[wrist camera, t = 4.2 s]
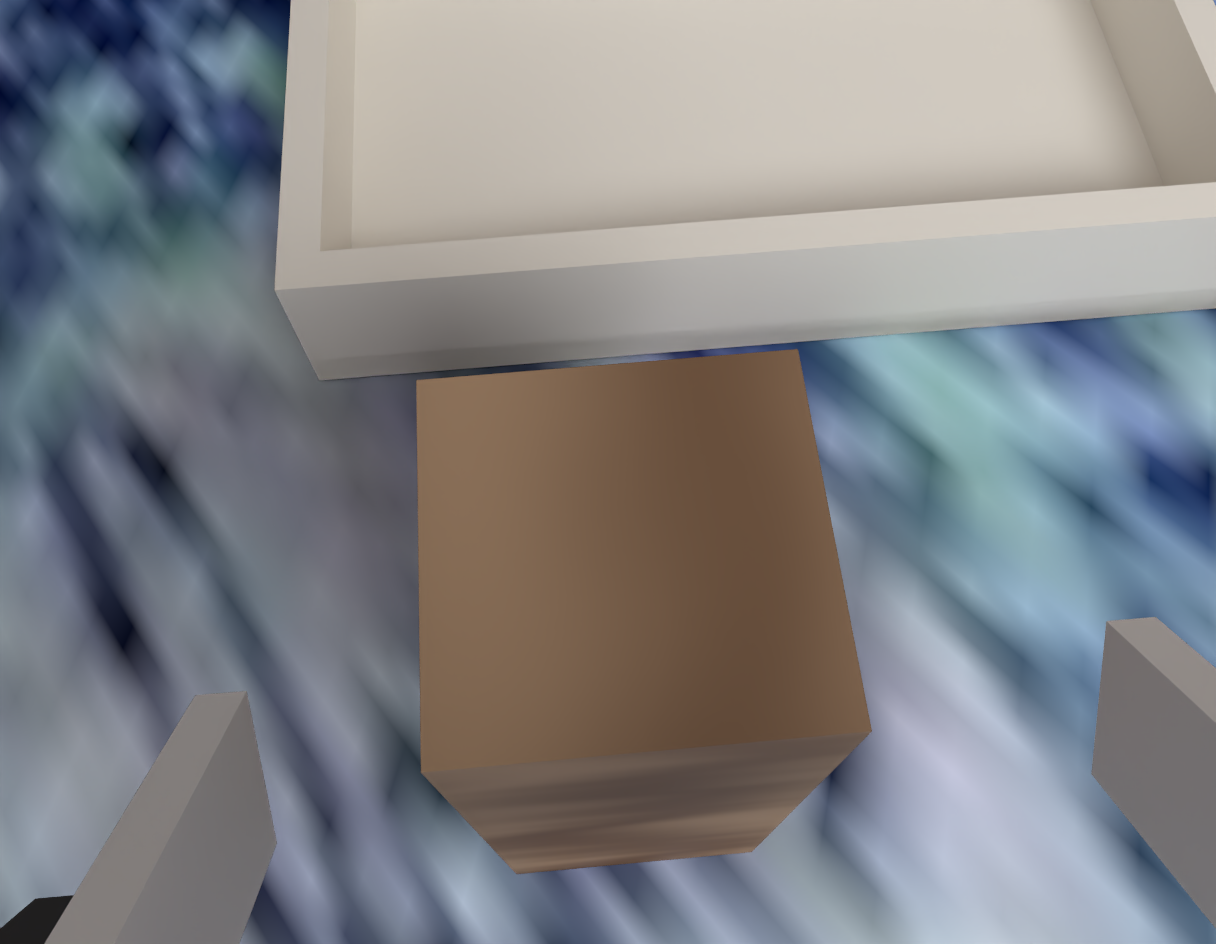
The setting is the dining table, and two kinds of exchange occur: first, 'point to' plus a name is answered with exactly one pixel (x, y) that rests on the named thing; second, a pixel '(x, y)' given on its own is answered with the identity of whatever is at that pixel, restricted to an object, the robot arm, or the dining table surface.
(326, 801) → the dining table surface
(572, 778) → the walnut block
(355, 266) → the sorting tray
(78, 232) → the dining table surface
